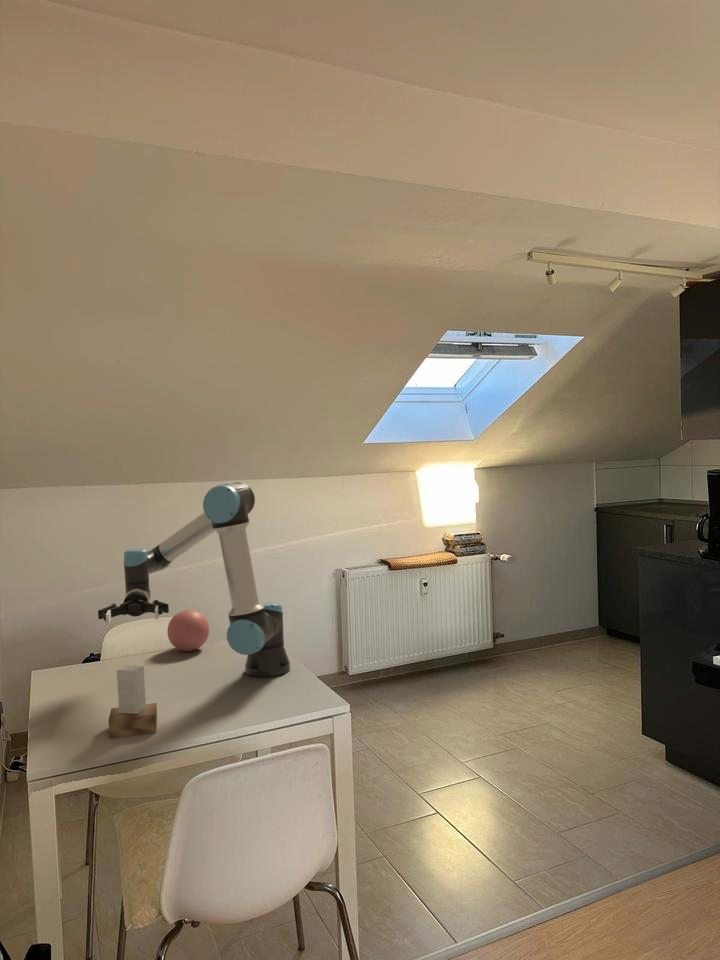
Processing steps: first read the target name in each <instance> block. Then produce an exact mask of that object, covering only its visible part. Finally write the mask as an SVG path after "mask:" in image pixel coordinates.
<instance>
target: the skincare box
mask: <svg viewBox="0 0 720 960" xmlns="http://www.w3.org/2000/svg"><path fill="white" fill-rule="evenodd" d="M116 677H117V678H116V681H117V683H116V684H117V696H118V697H117V698H118V699H117V700H118V707H119V713H127V714H139V713H141V712H142V711H144V710H145V709H146V704H147V700H146V697H147V696H146V684H145V668H144V665H143V666H141V665H140V666H139V665H124V666H122V667H119V668H118V669H116Z"/></svg>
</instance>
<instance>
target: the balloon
mask: <svg viewBox="0 0 720 960" xmlns="http://www.w3.org/2000/svg"><path fill="white" fill-rule="evenodd" d="M166 630H167V632H166V633H167V638H168V640H169V642H170V644H171V645H172V646H173V647H174V648H175V649H177V650H179V651H182V652H193V651H195V650H198V649H199V648H201V647H202V646H203V645H204V644H205V643H206V642H207V640H208V638H209V634H210V625H209V621H208V619H207V618H206V617H205V615H204V614H202V613H201V612H199V611H198V610H194V609H185V610H181V611H179V612H177V613H176V614H175V615H173V616H172V618H170V620H169V622H168V626H167V629H166Z"/></svg>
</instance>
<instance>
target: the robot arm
mask: <svg viewBox="0 0 720 960" xmlns="http://www.w3.org/2000/svg"><path fill="white" fill-rule="evenodd" d="M255 504H256V496H255V494H254V491H253V490H252V488H251V487H250V486H249V485H247V484H246V483H242V482H240V481H239V482H238V481H237V482H231V483H221V484H217V485H216V486H214V487H212V488H210V489H209V490H208V491H207V492H206V494H205V496H204V498H203V501H202V509H203V513H201V514H199V515H198V516H197V517H196V518H194V519H193V520H191V521H190V522H189V523H187V524H186V525H184V526H183V527H181V528H180V529H179V530H178V531H176V532H175V533H173V534H172V535H170V536H169V537H167V538H166V539H164V540H163V541H162V542H161V543H159V544H157V546H155V547H153V548H152V549H150V550H148V551H147V549H146V548H141V547H139V548H131V549H127V550H125V551H124V553H123V570H124V582H125V587H124V588H125V596H124V599H123V603H121V604H120V605H118V604H117V603H112V604H110V605H108V606H106V607H104V608H101V609H98V610H97V617H98V618H97V619H98V620H102V619H103V621H104V622H106V623H105V624H106V625H110V623H111V621H112V618H115V617H118V616H126V615H128V616H131V617H135V618H136V617H140V616H143V615H144V614H148V613H152V614H154V616H155V620H159V616H160V615H163V613H165V614H168V613H170V611H169V604H168V603H167V602H162V601H159V599H154V600H153V601H152V600H151V601H152V602H150V599H151V590H150V576H149V575H150V574H153V573H156V572H160V571H163V570H164V569H166V568H168V567H169V566H170V565H171V563H173V562H174V561H175V560H177V559H178V558H179V557H181V556H182V555H184V554H186V552H188V551H190V550H191V549H192V548H194V547H196V545H198V544H199V543H201V542H202V541H204V540H205V539H207V538H208V537H210V536H211V535H213V534H214V533H217V534H218V538H219V542H220V549H221V554H222V559H223V567H224V570H225V571H224V572H225V577H226V582H227V587H228V593H229V598H230V602H231V603H230V604H231V609H230V610H229V612H228V615H227V616H228V619H229V626H228V628H227V630H226V641H227V643H228V645H229V646H230V648H231V649H232V650H233V651H235V652H236V653H238V654H240V655H243V656H244V655H245V656H247V657H246V661H245V665H244V673H245V674H246V676H249V677H255V678H271V677H278V676H280V675H285V674H287V673H288V672H290V671H291V661H290V660H289V656H288V654H287V651H286V648H285V641H284V616H283V615H284V612H283V606H282V604H281V603H278V602H260V601H259V595H258V590H257V585H256V579H255V574H254V569H253V568H254V567H253V563H252V558H251V553H250V552H251V551H250V547H249V540H248V534H247V529H246V528H247V527H248V525H249V524H250V519H249V514H250V513H251V512H252V510H253V509H254V507H255Z"/></svg>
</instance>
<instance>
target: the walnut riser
mask: <svg viewBox="0 0 720 960" xmlns="http://www.w3.org/2000/svg"><path fill="white" fill-rule="evenodd" d="M157 704H158V703H157V702H155V703H154V702H153V703H146V709H145V710H144V711H142V712H141V713H139V714H127V713H119V706H118V707H112V708H111V709H110V712H109V716H108V737H109V739H116V738H115V737H117V738H123V737H122V736H125V737H132V736H131V735H133V736H137V735H136V734H141V735H147V733H149V734H153V732H156V733H157V731H158V730H157V727H158V707H157V706H158V705H157ZM156 730H157V731H156Z"/></svg>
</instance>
